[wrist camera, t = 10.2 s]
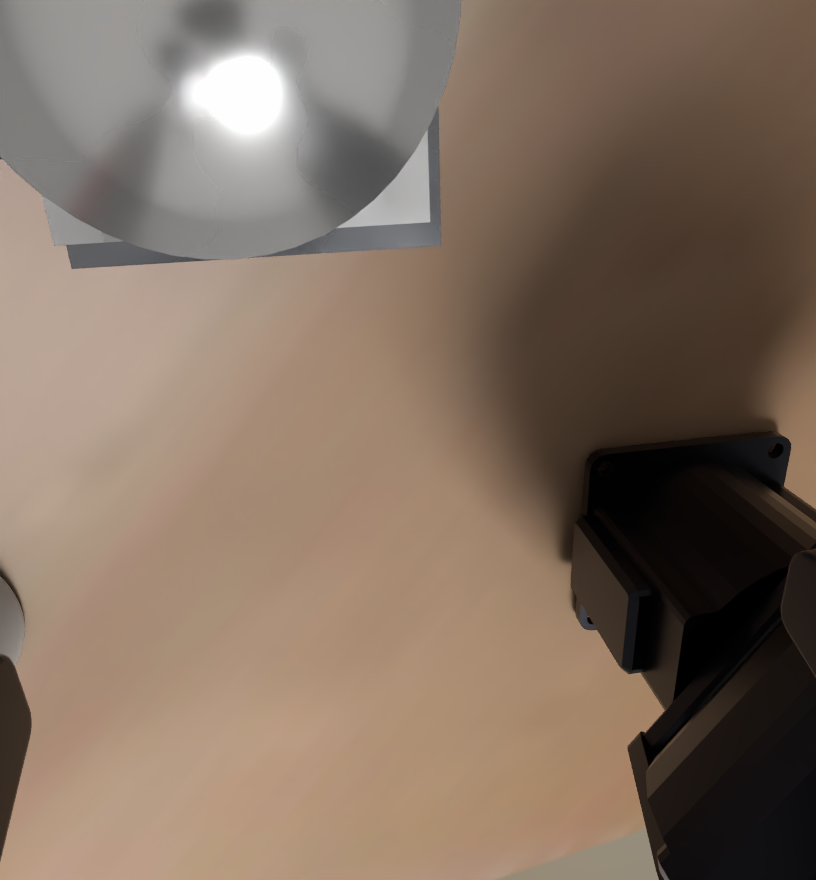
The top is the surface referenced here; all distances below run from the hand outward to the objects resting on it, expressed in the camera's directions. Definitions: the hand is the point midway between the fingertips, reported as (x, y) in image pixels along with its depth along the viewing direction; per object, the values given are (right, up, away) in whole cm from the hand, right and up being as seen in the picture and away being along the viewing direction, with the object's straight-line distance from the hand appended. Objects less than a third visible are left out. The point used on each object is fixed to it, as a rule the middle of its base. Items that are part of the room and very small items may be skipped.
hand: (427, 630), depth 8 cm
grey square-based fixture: (-4, +10, +6) cm, 12 cm away
